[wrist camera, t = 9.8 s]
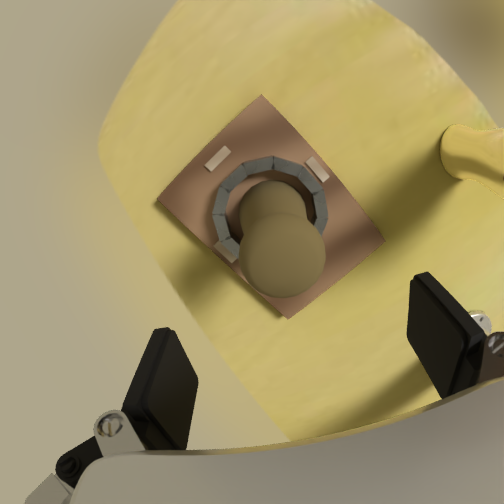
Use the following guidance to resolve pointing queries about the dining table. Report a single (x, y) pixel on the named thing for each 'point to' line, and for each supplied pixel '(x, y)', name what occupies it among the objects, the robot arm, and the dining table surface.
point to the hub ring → (258, 166)
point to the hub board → (257, 146)
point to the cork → (278, 241)
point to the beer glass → (475, 155)
